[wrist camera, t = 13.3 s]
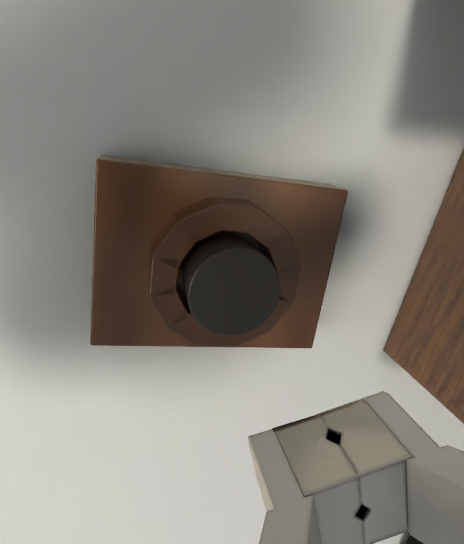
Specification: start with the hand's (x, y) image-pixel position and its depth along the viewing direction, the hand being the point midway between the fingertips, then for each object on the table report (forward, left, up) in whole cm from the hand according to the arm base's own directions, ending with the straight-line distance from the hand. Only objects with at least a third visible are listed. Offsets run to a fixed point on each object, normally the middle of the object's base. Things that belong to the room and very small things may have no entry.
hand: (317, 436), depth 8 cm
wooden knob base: (0, -1, -14) cm, 14 cm away
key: (0, -1, -11) cm, 11 cm away
